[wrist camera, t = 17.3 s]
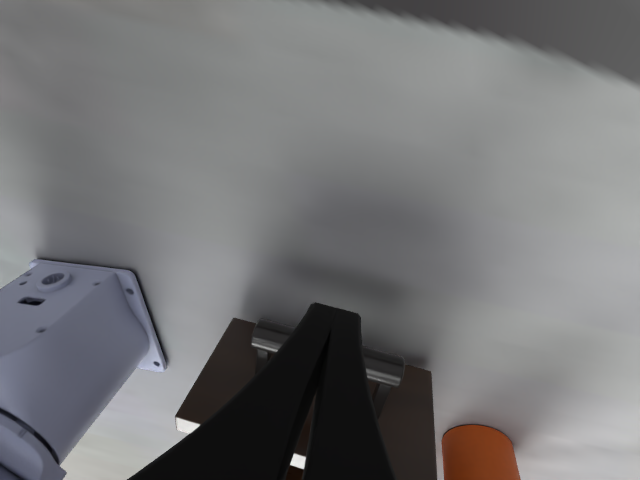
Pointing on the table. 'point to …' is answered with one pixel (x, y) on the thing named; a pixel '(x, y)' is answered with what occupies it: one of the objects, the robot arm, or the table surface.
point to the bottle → (478, 454)
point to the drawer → (384, 381)
